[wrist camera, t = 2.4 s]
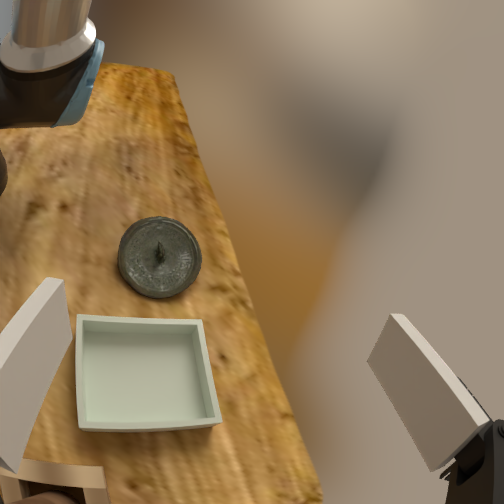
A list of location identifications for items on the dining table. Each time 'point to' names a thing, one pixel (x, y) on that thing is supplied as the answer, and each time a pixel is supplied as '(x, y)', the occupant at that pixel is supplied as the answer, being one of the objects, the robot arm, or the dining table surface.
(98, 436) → the dining table surface
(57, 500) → the dowel
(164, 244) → the lid
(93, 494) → the square wooden peg frame
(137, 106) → the dining table surface
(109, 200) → the dining table surface
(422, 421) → the robot arm
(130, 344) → the tray
